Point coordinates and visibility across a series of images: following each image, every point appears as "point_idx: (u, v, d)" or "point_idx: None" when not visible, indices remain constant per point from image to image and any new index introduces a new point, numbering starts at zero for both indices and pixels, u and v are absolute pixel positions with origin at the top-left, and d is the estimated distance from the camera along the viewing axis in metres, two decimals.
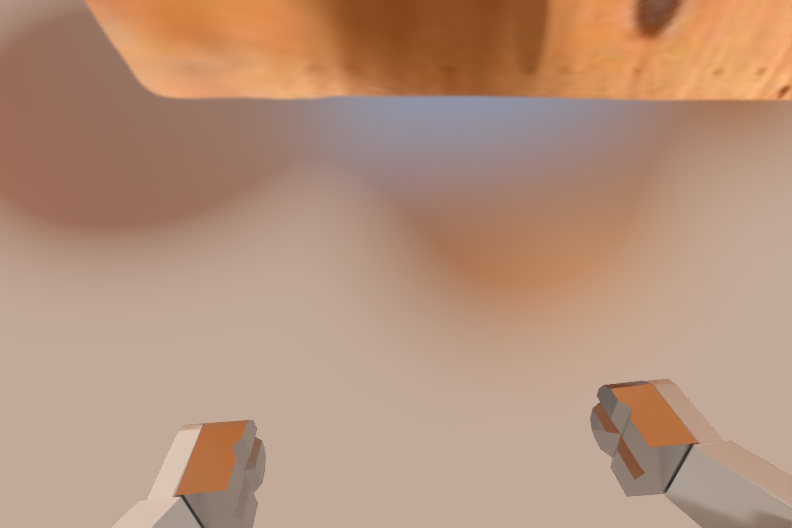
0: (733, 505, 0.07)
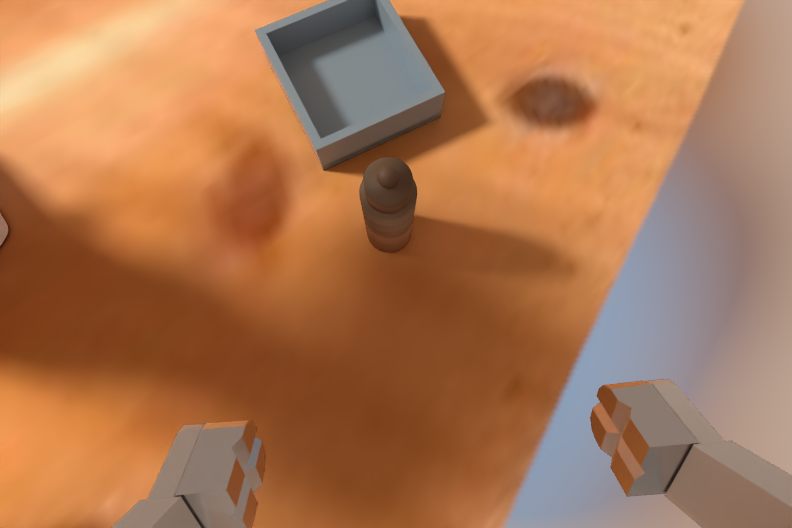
0: (733, 505, 0.07)
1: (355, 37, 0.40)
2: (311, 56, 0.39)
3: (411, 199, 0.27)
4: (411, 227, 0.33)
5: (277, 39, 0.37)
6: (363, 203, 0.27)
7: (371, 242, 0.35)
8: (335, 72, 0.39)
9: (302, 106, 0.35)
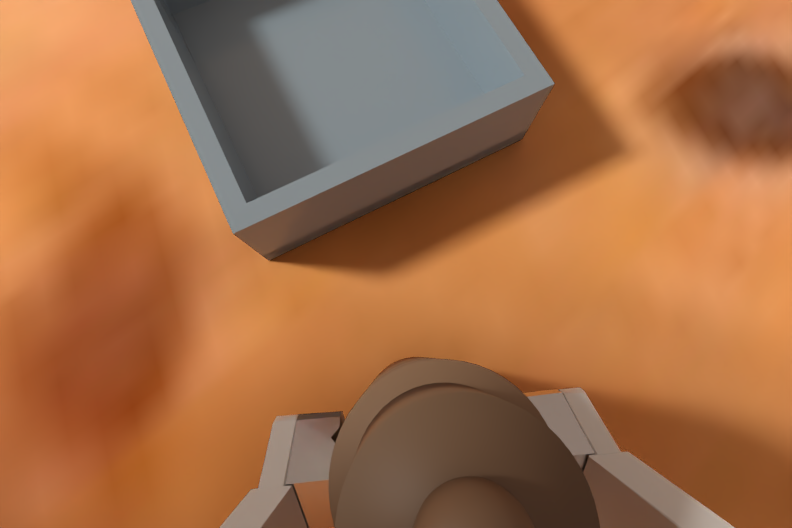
0: (625, 517, 0.07)
1: None
2: (248, 12, 0.19)
3: None
4: None
5: None
6: None
7: None
8: (298, 45, 0.18)
9: (205, 120, 0.14)
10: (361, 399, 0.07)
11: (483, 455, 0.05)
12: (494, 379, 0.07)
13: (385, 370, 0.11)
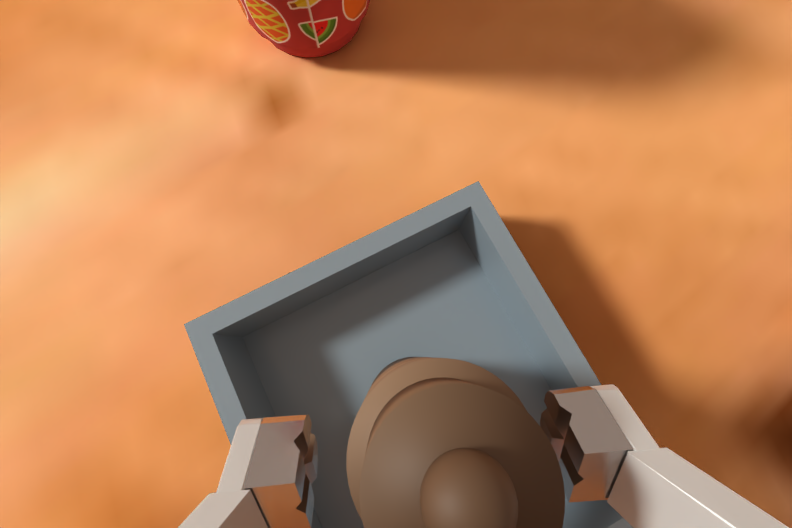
0: (665, 512, 0.07)
1: (419, 284, 0.18)
2: (323, 334, 0.18)
3: None
4: None
5: (243, 325, 0.16)
6: (360, 506, 0.08)
7: None
8: None
9: None
10: (373, 391, 0.08)
11: (475, 432, 0.06)
12: (484, 374, 0.09)
13: (388, 368, 0.13)
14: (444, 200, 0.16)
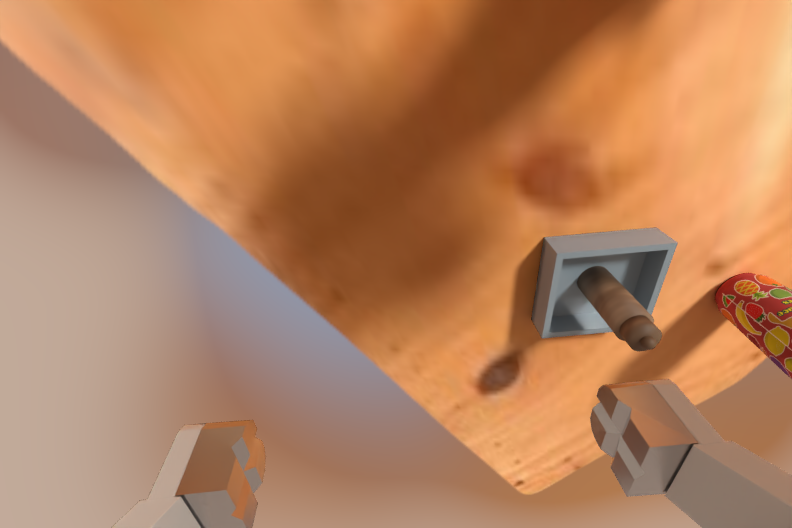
0: (733, 505, 0.07)
1: None
2: (632, 261, 0.48)
3: (620, 336, 0.43)
4: None
5: (660, 250, 0.46)
6: (639, 312, 0.41)
7: (595, 268, 0.48)
8: None
9: (594, 255, 0.44)
10: (653, 319, 0.42)
11: None
12: None
13: None
14: None
